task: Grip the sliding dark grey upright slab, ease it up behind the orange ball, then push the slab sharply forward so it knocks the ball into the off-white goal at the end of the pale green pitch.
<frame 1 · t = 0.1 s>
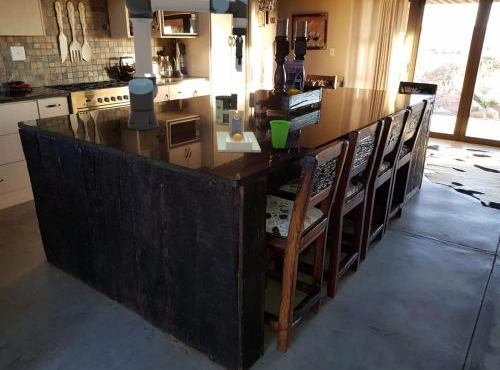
hand: (238, 70, 209), 28 cm above the countertop, tool pointing down, fingers open, 13 cm apart
ball: (237, 137, 175), point 3 cm above the countertop, touching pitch
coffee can: (224, 122, 218), on the countertop
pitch: (236, 142, 180), on the countertop
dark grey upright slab: (235, 114, 189), point 10 cm above the countertop, slide at 0.0 cm
cup: (278, 147, 174), on the countertop
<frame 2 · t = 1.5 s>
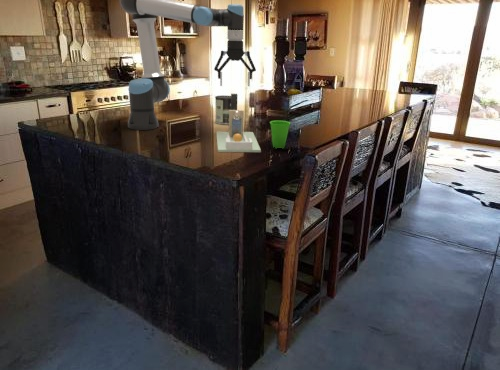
hand: (234, 85, 195), 22 cm above the countertop, tool pointing down, fingers open, 13 cm apart
nothing on the countertop moved.
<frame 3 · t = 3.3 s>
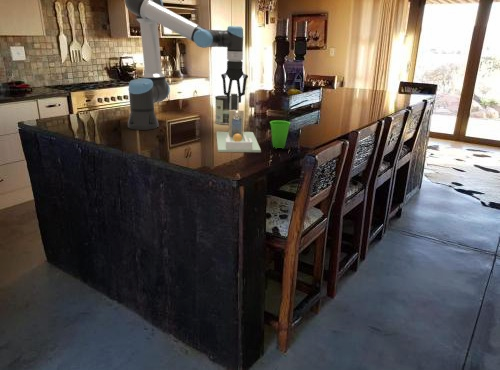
hand: (233, 109, 199), 11 cm above the countertop, tool pointing down, fingers closed on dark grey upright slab, 3 cm apart
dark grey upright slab: (235, 114, 189), point 10 cm above the countertop, slide at 0.0 cm, touching gripper
everything else where it was.
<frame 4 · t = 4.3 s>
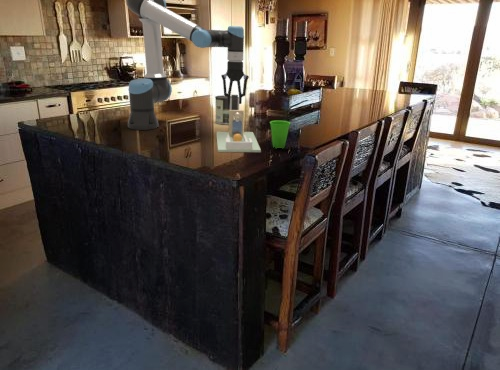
hand: (234, 110, 196), 11 cm above the countertop, tool pointing down, fingers closed on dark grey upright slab, 3 cm apart
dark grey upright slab: (235, 115, 186), point 10 cm above the countertop, slide at 3.5 cm, touching gripper
everything else where it was.
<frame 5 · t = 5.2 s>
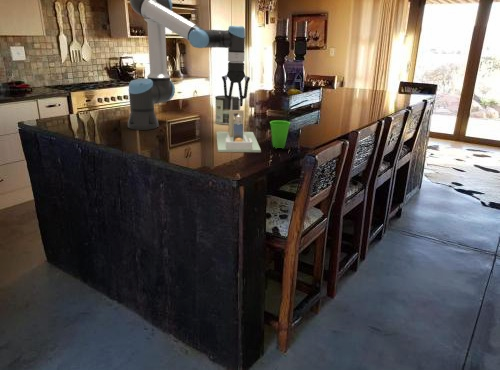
hand: (235, 112, 190), 11 cm above the countertop, tool pointing down, fingers closed on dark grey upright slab, 3 cm apart
ball: (238, 142, 168), point 3 cm above the countertop, tilted 158°, touching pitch
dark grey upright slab: (236, 118, 180), point 10 cm above the countertop, slide at 9.9 cm, touching gripper
everything else where it was.
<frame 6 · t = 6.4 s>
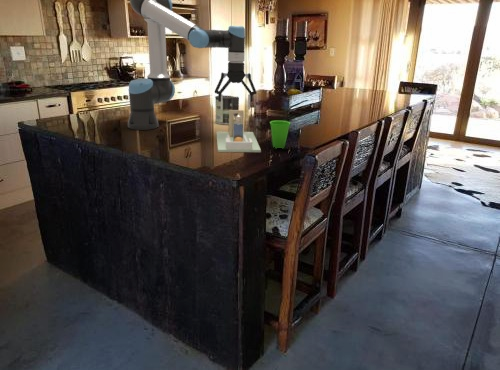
hand: (235, 108, 189), 13 cm above the countertop, tool pointing down, fingers open, 12 cm apart
ball: (238, 141, 169), point 3 cm above the countertop, tilted 156°, touching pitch
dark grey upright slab: (236, 118, 180), point 10 cm above the countertop, slide at 9.9 cm
everything else where it was.
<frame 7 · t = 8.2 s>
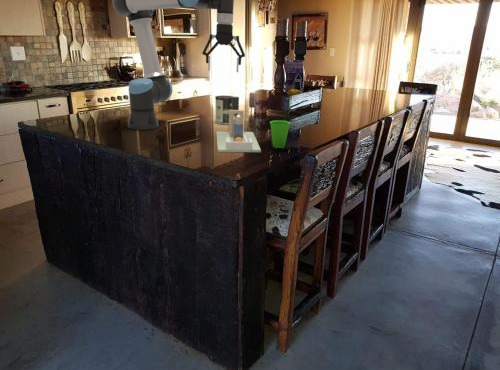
hand: (223, 71, 190), 29 cm above the countertop, tool pointing down, fingers open, 13 cm apart
nothing on the countertop moved.
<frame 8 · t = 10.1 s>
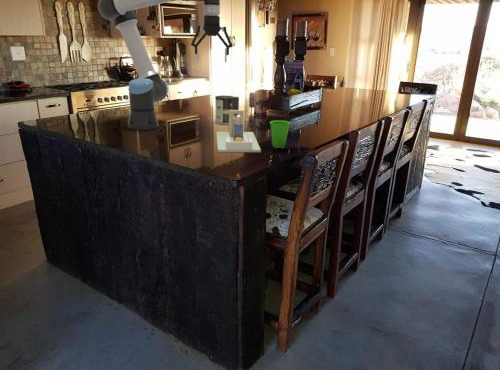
hand: (211, 61, 195), 33 cm above the countertop, tool pointing down, fingers open, 13 cm apart
nothing on the countertop moved.
at the end: ball inside the target area on the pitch (0.7 cm from its centre), point 3.0 cm above the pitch's base; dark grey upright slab slide at 9.9 cm; the gripper is holding nothing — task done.
